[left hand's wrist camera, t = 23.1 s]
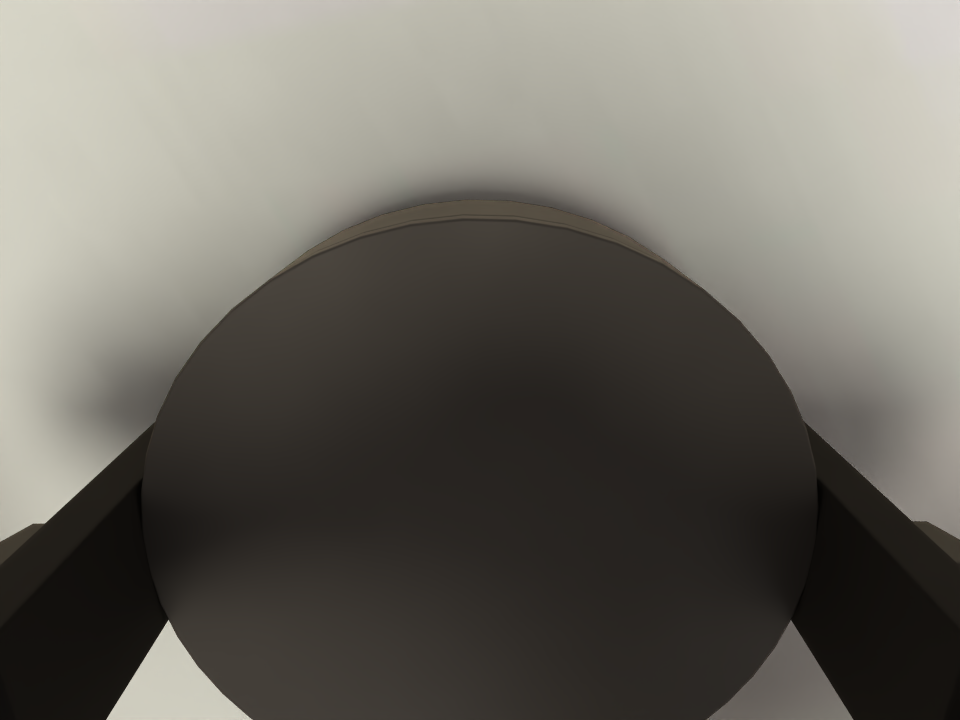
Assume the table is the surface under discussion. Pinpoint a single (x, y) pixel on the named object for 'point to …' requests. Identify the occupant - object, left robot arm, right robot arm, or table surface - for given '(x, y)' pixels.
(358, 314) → the lid
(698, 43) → the table surface
